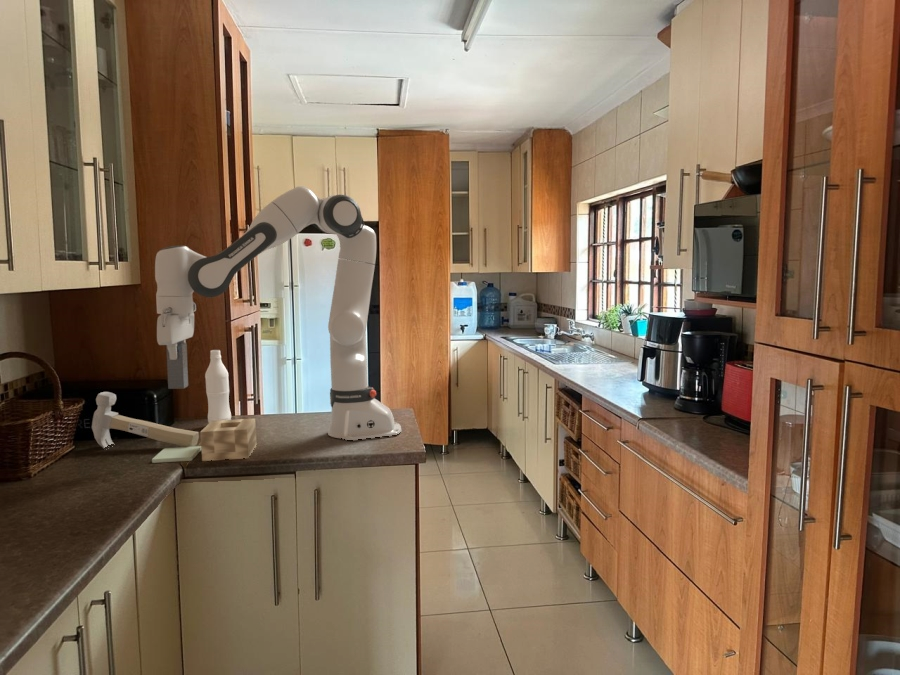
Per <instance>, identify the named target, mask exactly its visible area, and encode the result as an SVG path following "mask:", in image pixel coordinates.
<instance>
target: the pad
mask: <svg viewBox="0 0 900 675" xmlns="http://www.w3.org/2000/svg"><path fill="white" fill-rule="evenodd" d="M200 452H202V451H201V445H196V446H194V447H183V446H179V447H164V448H163V449H162V450H161V451H159V452H158V453H157V454H156V455H155V456H154V457H152V459H151V463H152V464H155V463H156V464H157V463H159V464H160V463H172V462H175V463H176V462H188V461H190V462H191V461H193V459H194V458H195V457H196V456H197V455H198V454H199V453H200Z"/></svg>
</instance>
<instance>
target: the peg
mask: <svg viewBox="0 0 900 675" xmlns="http://www.w3.org/2000/svg"><path fill="white" fill-rule="evenodd" d="M165 346H166V365H167V366H166V367H167V368H166V370H167V389H168V390H174V389H176V390H177V389H178V390H179V389H181V390H182V389H186V388H188V386H189V374H188V373H189V371H188V370H189V368H188V345H187V342H184V343H177V352H178V359H176V360H171V359H170V356H169V351H168V348H167V345H165Z"/></svg>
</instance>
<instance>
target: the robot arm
mask: <svg viewBox="0 0 900 675" xmlns="http://www.w3.org/2000/svg"><path fill="white" fill-rule="evenodd" d="M310 225H312V226H313V227H315V228H316V229H318V230H319V231H320V232H322V233H324V234H327V235H336V236H337V238H338V241H339V253H338V258H337V266H336V271H335V273H336V274H335V280H334V286H333V294H332V299H331V304H330V311H329V316H328V317H329V318H328V325H327V328H328V333H329V346H330V347H329V350H330V354H329V355H330V360H329V361H330V382H331V384H330V385H331V386H330V387H331V388H330V389H329V390H330V391H329V401H330V402H329V404H330V407H331V412H330V414H331V415H330V422H329V427H328V432H327V434H328V436H330V437H331V438H336V439H341V438H342V440H344V439H345V440H344V441H347V440H353V441H359V440H358V439H362V440H367V439H366V438H371V439H376V438H375V437H380V438H383V437H382V436H389V437H393V436H392V435H397V434H399V433H400V432H401V433H402V426H401V424H400V423H399V422H397V421H395V418H394V415H393V413H392V411H391V408H389V407H388V406H387V405H385V404H383V402H381V401H379V400H378V399H376V396H377V391H376V390H375V388H374V387H371V386H369V384H368V382H369V381H368V380H369V379H368V378H369V376H368V358H367V356H368V354H367V337H366V336H367V334H366V331H367V325H368V316H369V311H370V310H369V309H370V303H371V295H372V288H373V282H374V281H373V280H374V272H375V269H376V268H375V267H376V260H377V259H376V258H377V234H376V232H375V230H374V229H373V228H371V227H370V226H368V225H365V222H364V218H363V215H362V212H361V208H360V206H359V204H358V203H357V201H356V200H355V199H354V198H352V197H350V196H348V195H346V194H337V195H335V194H334V195H330V196H327V197H324V198H319V197H318V196H317V195H316V194H315V192H314V191H312V190H311V188H310V189H309V188H308V187H306V186H296V187H294V188H291V189H289V190H288V191H285V192H284V193H283V194H280V195H279V196H277V197H276V198H275V199H274V200H272V201H271V202H269V203H268V204H267V205H265V206H264V207H263V208H262V209H261V210H260V211H259V212H258V213H257V214H256V216H255V217H254V218H253V220H252V221H251V224H250V226H249V227H248V228H247V230H246V231H245V232H244V233H243V234H242V235H241V236H240V237H239V238H237V239H236V240H235V241H234V242H232V243H231V244H230V245H229V246H227V247H226V248H225V249H223V250H222V251H220V252H219V253H217V254H216V255H211V256H205V255H203V254H200V253H198V252H196V251H194V250H192V249H191V248H189V247H188V245H187V246H186V245H173V246H167V247H163V248H161V249H160V250H159V251H157V253H156V254H155V255H156V256H155V263H154V277H155V282H156V285H157V286H156V287H157V288H156V290H157V291H156V293H155V296H156V297H155V298H156V299H155V300H156V314H159V315H158V316H157V321H156V341H157V344H158V345H159V346H166V345H167V348H168V351H169V356H170V359H171V360H176V359H178V352H177V343H184V342H186V340H188V339H190V338H193V337H194V332H195V313H194V312H196V311H197V305H196V303H195V302H194V299H193V297H194V296H193V293H194V292H195V293H196V294H197V295H199V296H202V297H206V298H215V297H216V298H217V297H218V296H220V295H222V294H224V292H226V290H228V288H229V286H230V285H231V282H232V280H233V279H234V276H235V275H236V274H237V273H238V272H239V271H240V270H241V269H243V268H244V267H245V266H246V265H248V264H249V263H250V262H251V261H252V260H255V258H257V257H258V256H259V255H260V254H262V253H264V252H265V251H267V250H270V249H274V248H276V247H278V246H281V245H282V244H284V243H286V242H288V241H289V240H291V239H292V238H294V237H296V236H297V234H299V233H300V232H302V230H304V229H305V228H306V227H309V226H310ZM401 433H400V434H401ZM400 434H399V435H400ZM397 436H398V435H397Z"/></svg>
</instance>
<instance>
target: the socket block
mask: <svg viewBox="0 0 900 675" xmlns="http://www.w3.org/2000/svg"><path fill="white" fill-rule="evenodd" d="M256 426H257V424H256V418H239V419H231V420H215V421H211V422H210V423H209V422H208V423H207V425H206V426H204V427H203V429H201V431H199V433H200V434H199V435H200V436H199V437H200V446H201V451H200V452H201V461H202V462H207V461H211V460H212V461H226V460H225V459H229V460H241V459H243V458H245V459H250V457H249V456H251V455H252V454H253V452H254V451H253V450H255V449H256V448H257V446H256V445H257V428H256ZM254 448H255V449H254ZM251 453H252V454H251Z"/></svg>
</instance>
